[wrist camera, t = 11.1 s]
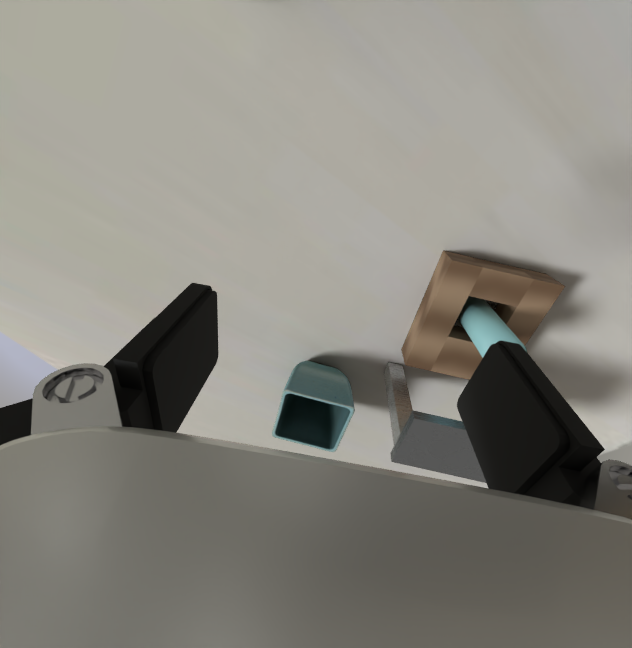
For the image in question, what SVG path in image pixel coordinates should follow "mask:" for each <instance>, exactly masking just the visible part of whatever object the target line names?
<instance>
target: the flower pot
mask: <svg viewBox="0 0 632 648" xmlns="http://www.w3.org/2000/svg"><path fill="white" fill-rule="evenodd" d="M354 411H355V409H354V403H353V397H352V391H351V386H350V383H349V380H348V379H347V377H346V376H345V375H344V374H343V373H342V372H341V371H340V370H338V369H337V368H333V367H329V366H325V365H322V364H318V363H314V362H311V361H304V362H301V363H299V364H298V365H297V366H296V367H295V368H294V369H293V371H292V373H291V375H290V377H289V380H288V382H287V384H286V386H285V389H284V391H283V393H282V398H281V402H280V406H279V410H278V414H277V417H276V421H275V424H274V428H273V431H272V436H273V437H276V438H279V439H283V440H287V441H291V442H295V443H299V444H303V445H307V446H311V447H315V448H319V449H322V450H326V451H330V452H335V451H336V450H337V448H338V446H339V443H340V441H341V439H342V437H343V435H344V432H345V430H346V428H347V426H348V424H349V422H350V420H351V418H352V416H353V414H354Z"/></svg>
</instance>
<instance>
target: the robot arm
mask: <svg viewBox="0 0 632 648" xmlns="http://www.w3.org/2000/svg"><path fill="white" fill-rule="evenodd" d="M217 359H218V318H217V293H216V291H212V288H211V287H210V286H207V285H202V284H197V283H192V284H190V285H189V286H188V287H187V288H186V289H185V290H184V291H183V292H182V293H181V294H180V295H179V296H178V297H177V298H176V299H175V300H174V301H172V302H171V303H170V304H169V305H168V306H167V307H166V308H165V309H164V310H163V311H162V312H161V313H160V314H159V315H158V316H157V317H156V318H154V319H153V320H152V321H151V322H150V323H149V324H148V325H147V326H146V327H145V328H143V329H142V330H141V331H140V332H139V333H138V334H137V335H136V336H135V337H134V338H133V339H132V340H131V341H130V342H129V343H128V344H127V345H126V346H125V347H124V348H122V349H121V350H120V351H119V352H118V353H117V354H116V355H115V356H114V357H113V358H112V359H111V360H110V361H109V362H108V363H107V364H106V365H105V366H104V367H103V366H101V365H97V364H77V365H72V366H68V367H65V368H62V369H59V370H57V371H55V372H53V373H51V374H50V375H48V376H47V377H45V378H44V379H43V380H41V381H40V383H39V384H38V385H37V386H36V388H35V390H34V393H33V399H29V400H26V401H23V402H19V403H16V404H13V405H9V406H6V407H3V408H0V648H632V466H631V465H629V464H626V463H623V462H621V461H617V460H606V461H604V462H602V463H600V461H599V460H598V459H597V456H598V455H599V454H600V453H601V452H603V451H604V450H605V449H604V448H603V447H602V445H601V444H600V443H599V442H598V440H597V439H596V438H595V437H594V435H593V434H592V433H591V432H590V430H589V429H588V428H587V427H586V425H585V424H584V423H583V422H582V420H581V419H580V418H579V417H578V415H577V414H576V413H575V412H574V411H573V409H572V408H571V407H570V406H569V404H568V403H567V402H566V401H565V399H564V398H563V397H562V396H561V394H560V393H559V392H558V391H557V389H556V388H555V387H554V386H553V384H552V383H551V382H550V381H549V379H548V378H547V377H546V376H545V374H544V373H543V372H542V371H541V369H540V368H539V367H538V366H537V365H536V363H535V362H534V361H533V360H532V358H531V357H530V356H529V355H528V353H527V352H526V351H525V350H524V348H523V347H522V346H521V345H520V344H517V343H512V342H507V341H498V342H497V343H496V344H492V345H491V346H490V347H489V348H488V350H487V352H486V353H485V355H484V357H483V358H482V360H481V362H480V363H479V365H478V367H477V369H476V370H475V372H474V374H473V375H472V377H471V379H470V380H469V382H468V384H467V385H466V387H465V389H464V390H463V392H462V394H461V395H460V397H459V399H458V402H457V408H458V411H459V413H460V416H461V419H462V421H463V424H464V426H465V429H466V431H467V434H468V436H469V439H470V442H471V444H472V447H473V449H474V452H475V454H476V457H477V459H478V462H479V465H480V467H481V470H482V472H483V475H484V477H485V480H486V483H487V485H488V488H489V489H488V488H483V487H477V486H472V485H467V484H461V483H456V482H451V481H446V480H440V479H435V478H430V477H424V476H419V475H413V474H408V473H402V472H397V471H392V470H386V469H381V468H375V467H370V466H364V465H359V464H353V463H348V462H342V461H337V460H331V459H326V458H320V457H315V456H309V455H304V454H298V453H292V452H287V451H281V450H275V449H270V448H264V447H259V446H253V445H247V444H242V443H236V442H230V441H225V440H218V439H212V438H206V437H200V436H194V435H187V434H181V433H176V432H177V430H178V429H179V427H180V425H181V423H182V422H183V420H184V418H185V417H186V415H187V413H188V411H189V410H190V408H191V406H192V404H193V403H194V401H195V399H196V397H197V396H198V394H199V392H200V391H201V389H202V387H203V385H204V384H205V382H206V380H207V378H208V377H209V375H210V373H211V371H212V370H213V368H214V366H215V365H216V362H217Z"/></svg>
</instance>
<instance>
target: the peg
mask: <svg viewBox="0 0 632 648" xmlns="http://www.w3.org/2000/svg"><path fill="white" fill-rule="evenodd" d="M458 319H459V321H460V322H461V324H462V325H463V327H464V329H465V330H466V332H467V334H468V335H469V337H470V338H471V340H472V342H473V343H474V345H475V346H476V348H477V350H478V351H479V353H480V354H481V356H482V358H483V357H484V355H485V353H486V352H487V350H488V348H489V347H490V346H491V345H492V344H496V343H497V342H498V341H507V342H512V343H517V344H520V345H521V346H522V347H523V348H524V350H525V351H526V352H527V350H526V347H525V346H524V344H523V343H522V342H521V341H520V340H519V339H518V338H517V336H516V335H515V334H514V333H513V332H512V331H511V330H510V328H509V327H508V326H507V325H506V324H505V323H504V322H503V320H502V319H501V318H500V317H499V316H498V315H497V314H496V312H495V311H494V310H493V309H492V308H491V307H490V306H489V304H488V303H487V302H486V301H485V300H484V299H480V298H476V297H471V296H468V298H467V300H466V302H465V304H464V306H463V308H462V310H461V312H460V314H459V316H458Z"/></svg>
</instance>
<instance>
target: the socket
mask: <svg viewBox="0 0 632 648" xmlns="http://www.w3.org/2000/svg"><path fill="white" fill-rule="evenodd" d="M564 287H565V286H564V285H563V284H561V283H559V282H558V281H556V280H555V279H553V278H552V277H550V276H549V275H547V274H544V273H539V272H535V271H531V270H526V269H522V268H517V267H513V266H509V265H504V264H500V263H496V262H491V261H487V260H482V259H478V258H474V257H469V256H465V255H461V254H456V253H452V252H447V251H443V252H442V255H441V257H440V259H439V262H438V264H437V267H436V269H435V271H434V274H433V276H432V278H431V281H430V283H429V285H428V288H427V290H426V293H425V295H424V297H423V300H422V302H421V304H420V307H419V309H418V311H417V314H416V316H415V319H414V321H413V323H412V326H411V328H410V330H409V333H408V335H407V337H406V340H405V342H404V345H403V347H402V349H401V350H402V354H403V358H404V362H405V365H407V366H411V367H415V368H420V369H424V370H429V371H433V372H438V373H442V374H446V375H451V376H455V377H460V378H464V379H469V380H470V379H471V377H472V375H473V374H474V372H475V370H476V369H477V367H478V365H479V363H480V362H481V360H482V356H481V354H480V353H479V351H478V350H477V348H476V346H475V345H474V343H473V342H472V340H471V338H470V337H469V335H468V334H467V332H466V330H465V329H464V327H460V326H456V325H454V324H455V322H456V320H457V318H458V316H459V314H460V312H461V310H462V308H463V306H464V304H465V302H466V300H467V298H468V296H471V297H476V298H480V299H484V300H489V301H493V302H498V304H497V306H496V307H495V309H494V311H495V312H496V314H497V315H498V316H499V317H500V318H501V319H502V320H503V322H504V323H505V324H506V325H507V326H508V327H509V328H510V330H511V331H512V332H513V333H514V334H515V335H516V336H517V338H518V339H519V340H520V341H521V342H522V343H523V344H524V346H525V345H526V343H527V342H528V340H529V339H530V337H531V336H532V334H533V333H534V332H535V330H536V329H537V327H538V326H539V324H540V323H541V321H542V320H543V318H544V317H545V315H546V314H547V312H548V311H549V309H550V308H551V306H552V305H553V304H554V302H555V301H556V299H557V298H558V296H559V295H560V293H561V292H562V290H563V289H564Z"/></svg>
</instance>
